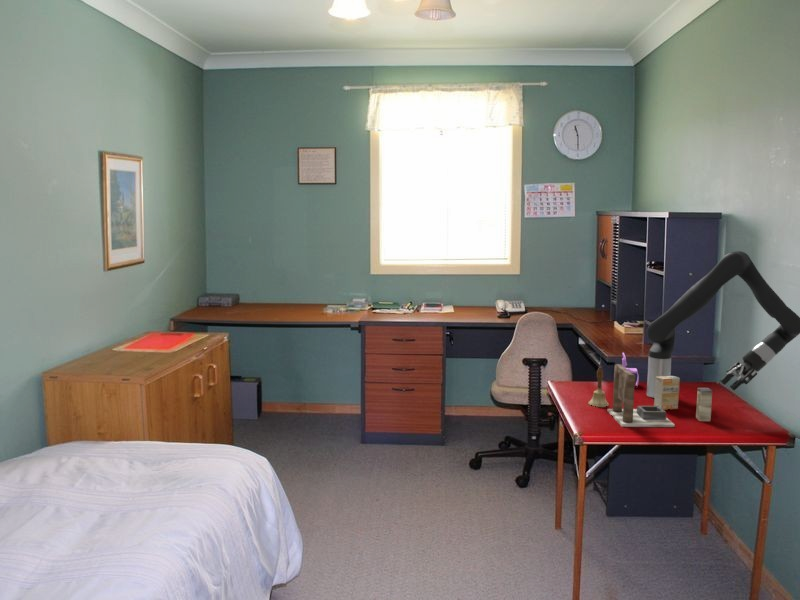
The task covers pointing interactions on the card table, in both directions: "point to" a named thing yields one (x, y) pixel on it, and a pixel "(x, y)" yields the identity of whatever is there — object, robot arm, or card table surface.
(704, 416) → the rail post
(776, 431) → the card table surface
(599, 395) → the hand bell
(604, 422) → the card table surface
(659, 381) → the supplement box
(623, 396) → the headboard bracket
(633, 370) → the toy chair
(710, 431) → the card table surface
